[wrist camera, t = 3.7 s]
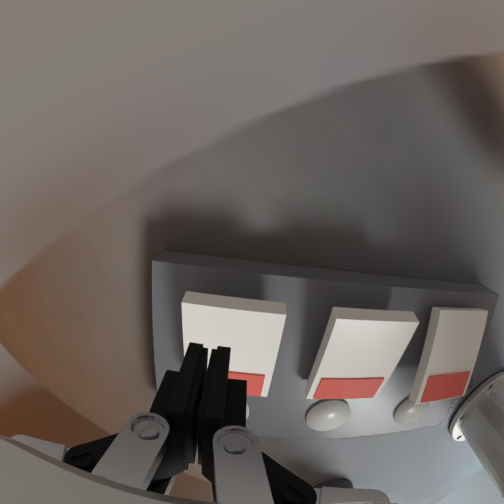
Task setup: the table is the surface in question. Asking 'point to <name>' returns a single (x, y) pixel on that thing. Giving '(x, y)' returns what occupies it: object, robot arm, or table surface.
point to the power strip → (311, 337)
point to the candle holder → (336, 484)
